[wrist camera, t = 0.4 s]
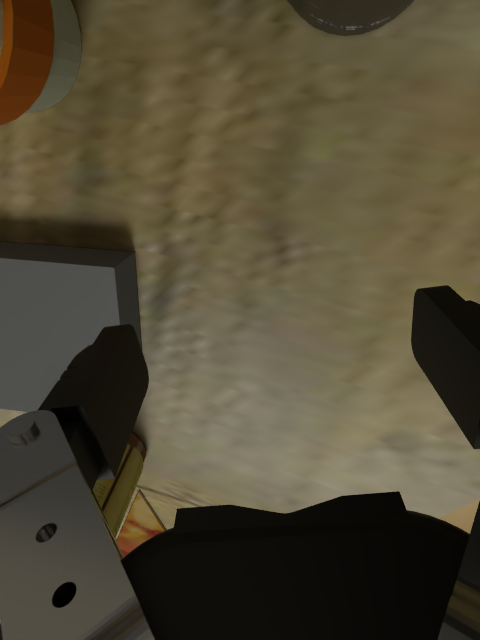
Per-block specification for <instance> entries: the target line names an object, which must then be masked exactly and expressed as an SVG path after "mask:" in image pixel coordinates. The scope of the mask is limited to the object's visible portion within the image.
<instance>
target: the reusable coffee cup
mask: <svg viewBox="0 0 480 640" xmlns="http://www.w3.org/2000/svg"><path fill="white" fill-rule="evenodd" d="M81 51H82V46H81V32H80V27H79V23H78V18H77V14H76V12H75V9H74V7H73V4H72V1H71V0H0V125H3V124H5V123H8V122H10V121H13V120H15V119H17V118H18V117H19V116H21V115H22V114H23V113H29V112H35V111H41V110H45V109H47V108H50V107H52V106H54V105H55V104H57V103H58V102H59V101H61V100H62V99H63V98H64V97H65V96H66V94H67V93H68V92H69V91H70V90H71V88H72V86H73V84H74V82H75V80H76V78H77V74H78V70H79V67H80V62H81Z"/></svg>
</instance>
